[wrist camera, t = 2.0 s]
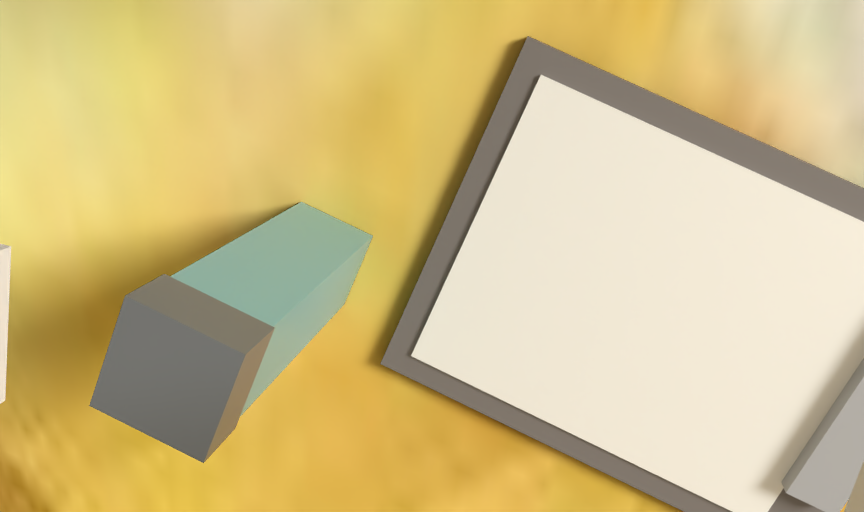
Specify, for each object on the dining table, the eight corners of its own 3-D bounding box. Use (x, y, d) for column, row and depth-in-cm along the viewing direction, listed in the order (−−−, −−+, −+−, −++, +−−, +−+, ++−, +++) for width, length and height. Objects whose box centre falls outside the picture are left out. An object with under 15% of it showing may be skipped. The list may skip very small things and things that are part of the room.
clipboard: (384, 358, 34) (374, 373, 33) (528, 36, 30) (525, 36, 28) (788, 554, 33) (798, 580, 32) (999, 249, 29) (1022, 262, 27)
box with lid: (271, 272, 34) (89, 405, 22) (299, 198, 33) (125, 295, 21) (345, 307, 34) (203, 463, 22) (376, 234, 33) (245, 354, 21)
